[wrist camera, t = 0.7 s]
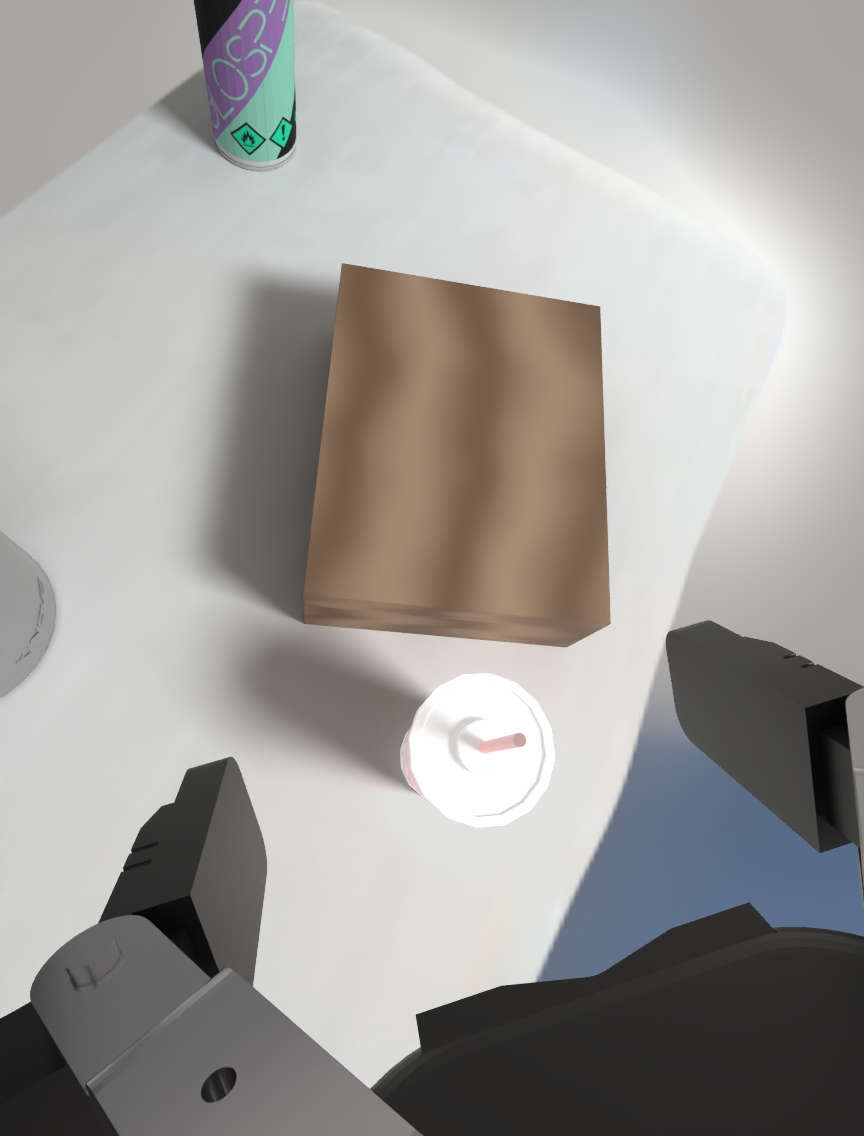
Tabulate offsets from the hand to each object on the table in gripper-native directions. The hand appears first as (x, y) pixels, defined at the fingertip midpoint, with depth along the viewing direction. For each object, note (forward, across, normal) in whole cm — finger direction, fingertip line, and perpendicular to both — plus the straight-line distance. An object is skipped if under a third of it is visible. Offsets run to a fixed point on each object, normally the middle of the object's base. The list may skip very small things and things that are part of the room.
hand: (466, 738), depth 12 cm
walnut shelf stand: (+29, -5, -1) cm, 30 cm away
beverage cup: (+22, 0, +12) cm, 25 cm away
